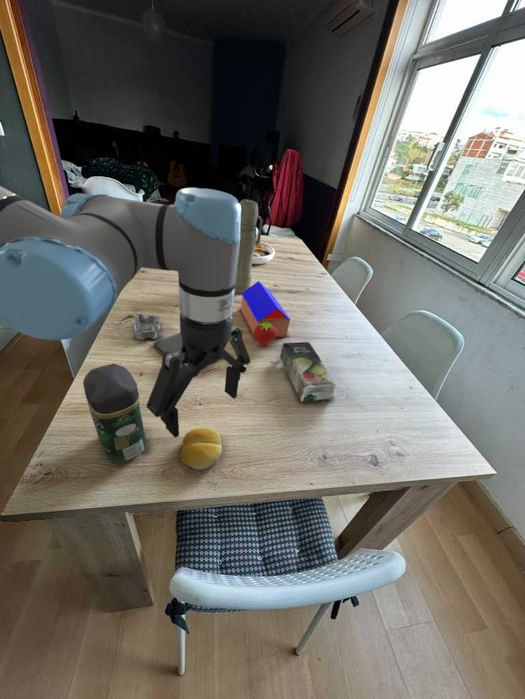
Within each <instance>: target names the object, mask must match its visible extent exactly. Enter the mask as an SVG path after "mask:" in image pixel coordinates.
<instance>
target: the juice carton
mask: <svg viewBox="0 0 525 699" xmlns="http://www.w3.org/2000/svg"><path fill="white" fill-rule="evenodd" d="M279 358H280V360H281V363H282V365H283V366H284V368H285V371H286V374H287V376H288V379H289V380H290V382H291V383H292V385H293V387H294V390H295V393H296V394H297V398H298V399H299V401H300V402H301V403H303V402H304V403H310V402H311V403H312V402H315V401H321V400H331V399H332V397H333V394H335V389H336V387H337V385H336V383H335V381H334V379H333V378H332V376H331V374H330V372H329V370H328V369H327V367H326V366H325V364H324V363H323V360H322V359H321V357H320V355H318V353H317V352H316V350H315V349H314V347H313V345H312V344H311V343H310V342H309V341H302V342H301V341H299V342H283V343H282V347H281V350H280V354H279Z"/></svg>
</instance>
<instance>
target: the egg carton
mask: <svg viewBox="0 0 525 699" xmlns="http://www.w3.org/2000/svg"><path fill="white" fill-rule="evenodd" d="M160 329H161V319H160V315H158V314H156V315H155V314H152V315H150V314H147V316H144V314H142V313H137V312H134V320H133V330H134V334H135V335H136V337H135V339H136V340H137V339H138V340H140V341H145V340H146V339H152V340H156V339H157V338H160V337H161V334H160Z"/></svg>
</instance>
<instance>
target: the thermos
mask: <svg viewBox="0 0 525 699" xmlns="http://www.w3.org/2000/svg"><path fill="white" fill-rule="evenodd" d="M239 203H240V206H241V226H240V245H239V255H238V264H237V274H236V283H235V294H238V295H239V294H240V295H242V293H243V292H244V291H246V290H247V289H248V288H250V287H251V286H252V285H251V284H252V267H253V264H252V259H253V253H254V251H255V246H256V245H258V244H259V243H260V242H261V236H262V229H263V222H264V220H263V219H262V217H261V216H260V215H259V207H258V205H259V204H258V203H257V202H256V201H255V200H253V199H247V198H246V199H242V200H240V202H239ZM258 221H259V224H258ZM257 224H258V231H257Z"/></svg>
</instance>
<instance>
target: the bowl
mask: <svg viewBox="0 0 525 699" xmlns="http://www.w3.org/2000/svg"><path fill="white" fill-rule="evenodd" d="M275 252H276V251H275V249H274V248H273V247H272V246H271V245H269V244H268V243H265V242H262V241H260V243H259V244H258V245H256V246H255V251H254V253H253V259H252V265H262V264H266V263H268V262H270V261H271V260H272V259H273V258H274V256H275Z"/></svg>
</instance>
